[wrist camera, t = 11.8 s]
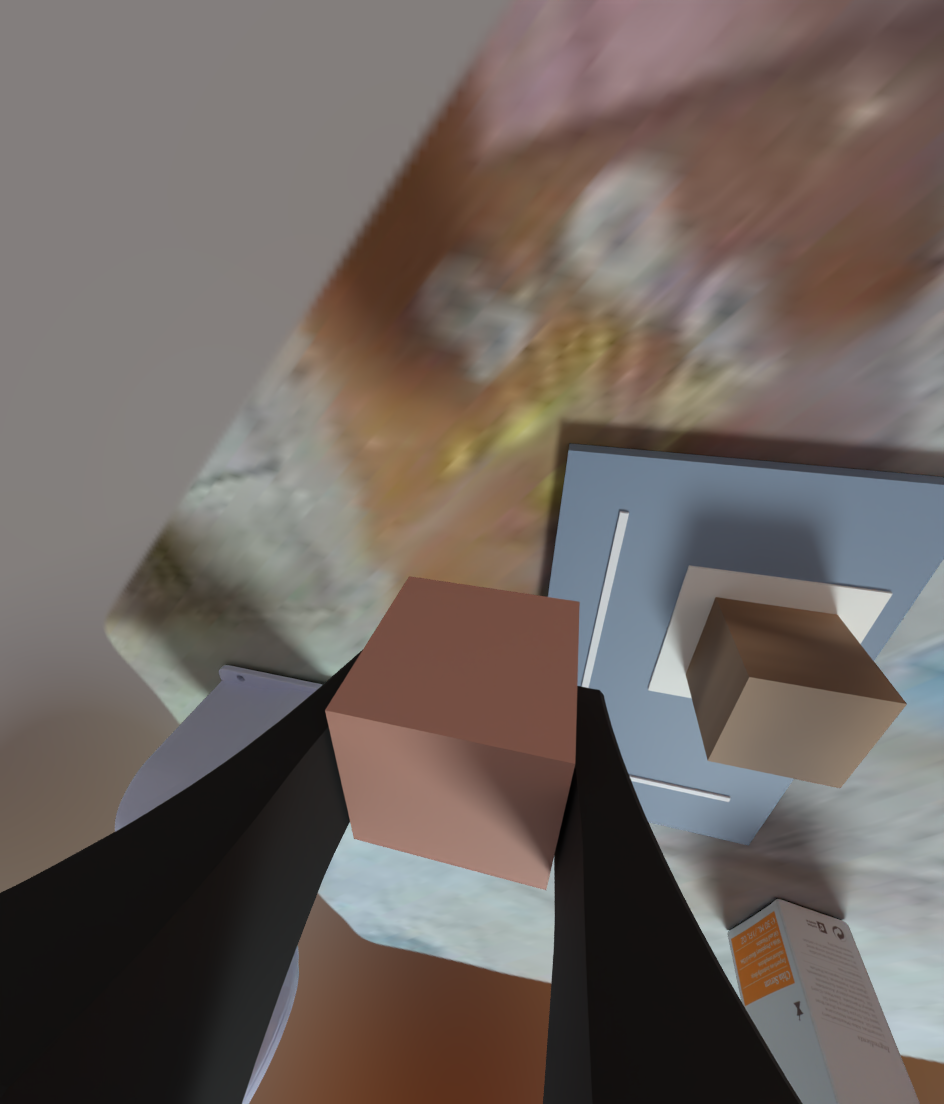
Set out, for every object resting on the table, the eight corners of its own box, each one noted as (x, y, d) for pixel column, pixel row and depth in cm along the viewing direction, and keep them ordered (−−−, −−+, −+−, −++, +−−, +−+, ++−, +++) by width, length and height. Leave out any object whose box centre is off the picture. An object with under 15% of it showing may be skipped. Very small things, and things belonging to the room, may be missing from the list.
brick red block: (416, 692, 13) (354, 838, 9) (408, 576, 10) (324, 710, 7) (557, 720, 12) (546, 890, 8) (579, 601, 10) (575, 764, 6)
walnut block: (685, 674, 18) (707, 760, 15) (715, 597, 16) (749, 676, 13) (791, 693, 18) (840, 788, 14) (837, 614, 15) (907, 704, 12)
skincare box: (773, 894, 26) (891, 1275, 16) (848, 919, 26) (1016, 1326, 16) (722, 930, 29) (792, 1265, 19) (787, 954, 29) (894, 1308, 19)
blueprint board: (521, 779, 26) (519, 793, 25) (569, 443, 15) (568, 450, 15) (743, 829, 24) (749, 847, 23) (970, 479, 13) (993, 490, 13)
